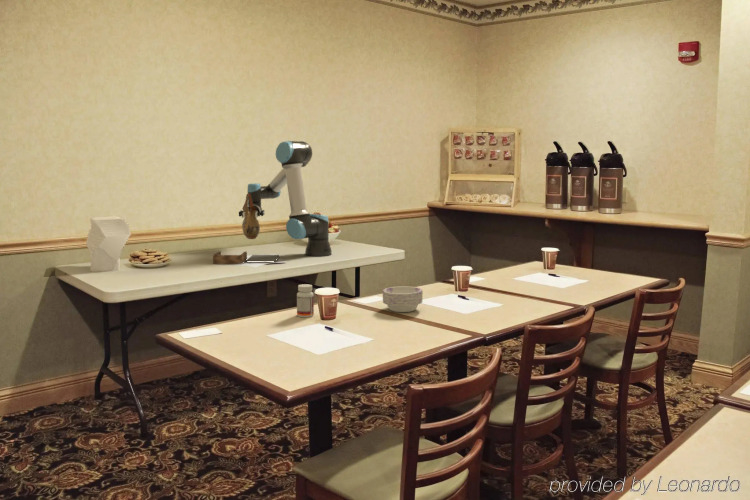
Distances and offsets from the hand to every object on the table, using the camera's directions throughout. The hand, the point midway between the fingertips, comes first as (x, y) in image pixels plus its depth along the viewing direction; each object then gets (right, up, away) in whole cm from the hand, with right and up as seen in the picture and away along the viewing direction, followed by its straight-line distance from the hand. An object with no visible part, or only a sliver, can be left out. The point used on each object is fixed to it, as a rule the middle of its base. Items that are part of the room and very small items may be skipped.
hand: (249, 215), depth 367 cm
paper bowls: (+78, -42, -107) cm, 139 cm away
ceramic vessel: (0, -13, +7) cm, 15 cm away
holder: (-10, -25, -3) cm, 27 cm away
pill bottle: (+42, -43, -117) cm, 132 cm away
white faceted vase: (-67, -28, -22) cm, 76 cm away
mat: (+7, -24, +4) cm, 25 cm away
